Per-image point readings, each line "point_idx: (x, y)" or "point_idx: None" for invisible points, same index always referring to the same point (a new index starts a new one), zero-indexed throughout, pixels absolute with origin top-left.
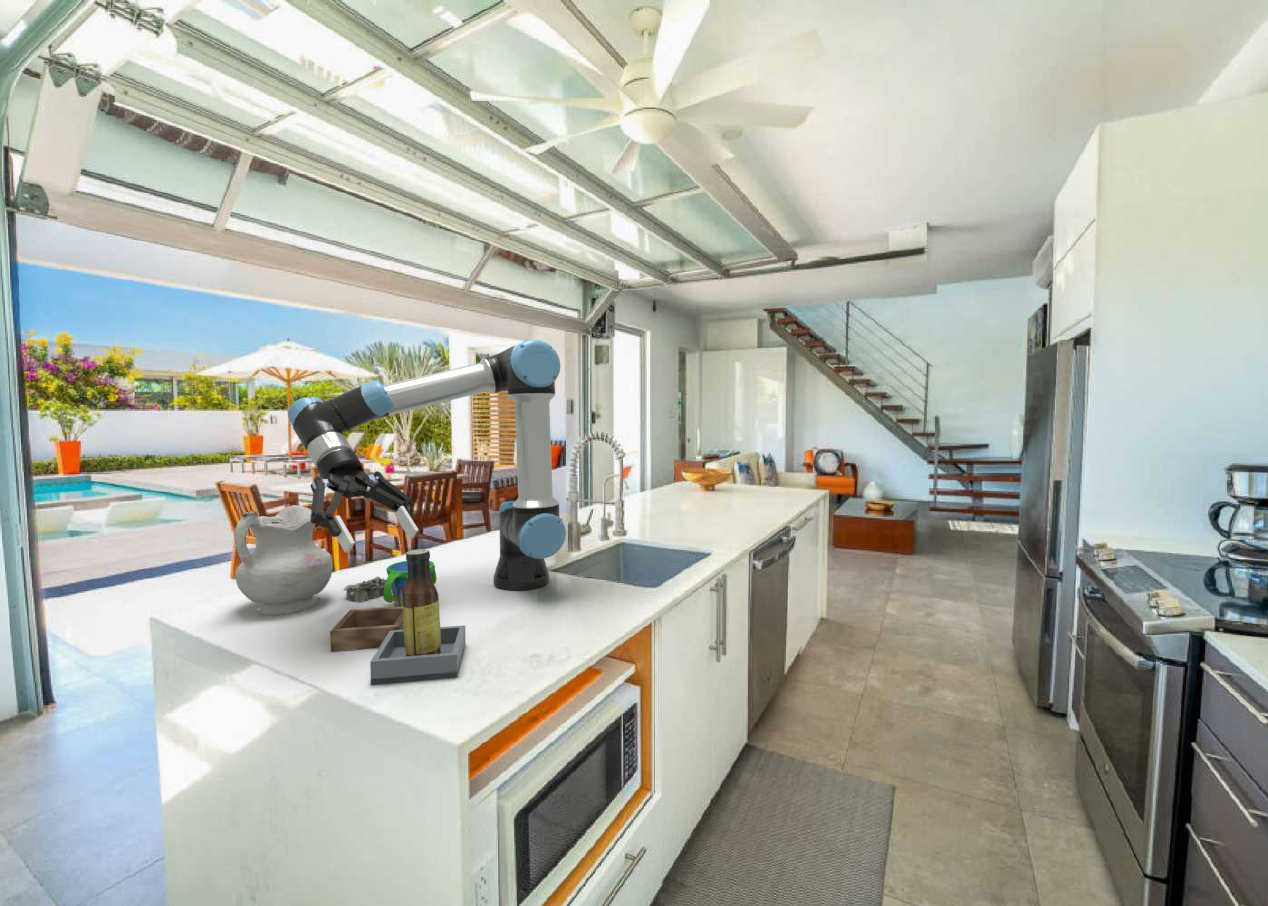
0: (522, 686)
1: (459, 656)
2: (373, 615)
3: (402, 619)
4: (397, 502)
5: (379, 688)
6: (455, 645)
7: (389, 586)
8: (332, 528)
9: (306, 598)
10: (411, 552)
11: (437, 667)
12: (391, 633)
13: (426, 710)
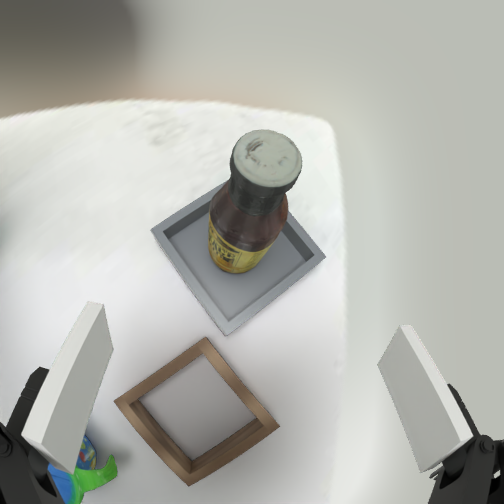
0: (231, 116)
1: None
2: (168, 446)
3: (174, 360)
4: (31, 478)
5: None
6: None
7: (105, 471)
8: (460, 400)
9: None
10: (287, 163)
11: None
12: (235, 321)
13: (316, 167)
